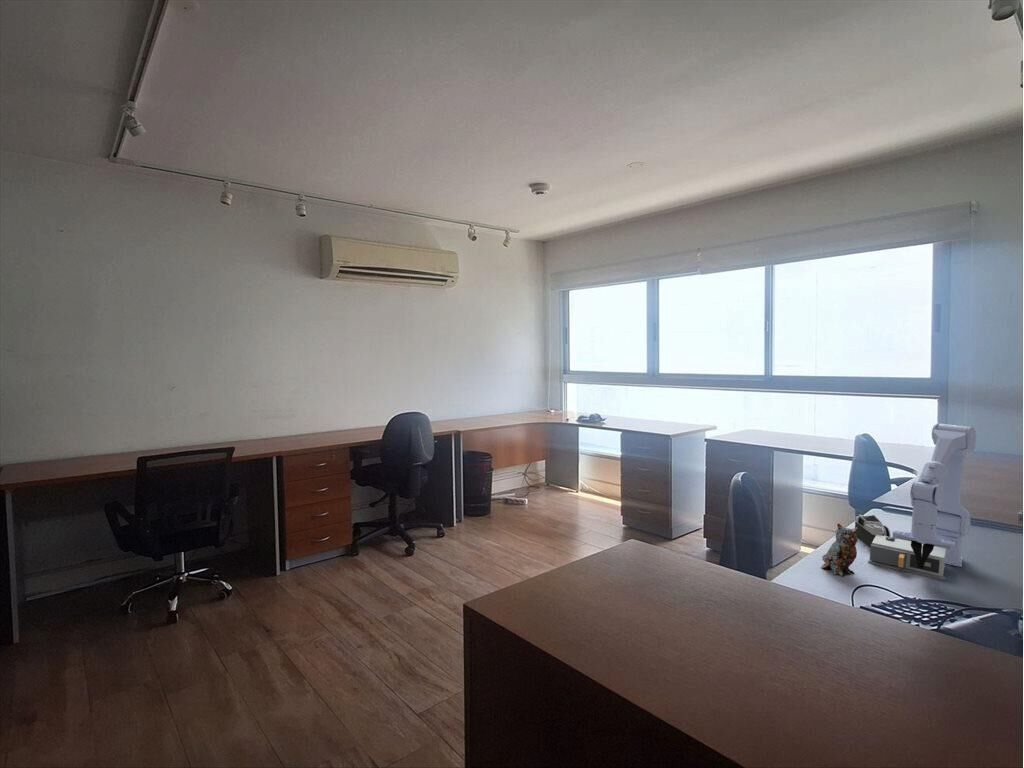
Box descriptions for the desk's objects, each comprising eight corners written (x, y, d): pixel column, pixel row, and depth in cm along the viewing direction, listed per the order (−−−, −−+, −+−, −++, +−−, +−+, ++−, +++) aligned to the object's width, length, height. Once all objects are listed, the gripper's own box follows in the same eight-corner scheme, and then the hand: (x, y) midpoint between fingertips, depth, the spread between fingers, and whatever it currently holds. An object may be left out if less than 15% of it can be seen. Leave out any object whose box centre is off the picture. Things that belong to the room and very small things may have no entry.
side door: (870, 558, 172) (871, 544, 172) (905, 566, 166) (906, 552, 166) (867, 563, 168) (868, 548, 168) (903, 572, 162) (904, 556, 162)
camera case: (873, 551, 180) (874, 532, 180) (946, 567, 168) (948, 547, 168) (867, 562, 171) (869, 542, 171) (944, 580, 159) (946, 558, 158)
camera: (900, 554, 178) (902, 524, 178) (871, 552, 180) (873, 523, 179) (877, 537, 194) (878, 510, 193) (850, 535, 196) (852, 508, 195)
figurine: (844, 565, 169) (847, 518, 168) (862, 578, 160) (865, 528, 159) (816, 565, 169) (819, 518, 168) (833, 577, 160) (836, 528, 159)
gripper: (892, 520, 162) (889, 564, 163) (955, 532, 152) (951, 578, 153) (895, 514, 167) (892, 557, 168) (956, 525, 157) (952, 571, 158)
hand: (920, 567), depth 161 cm, fingers closed
